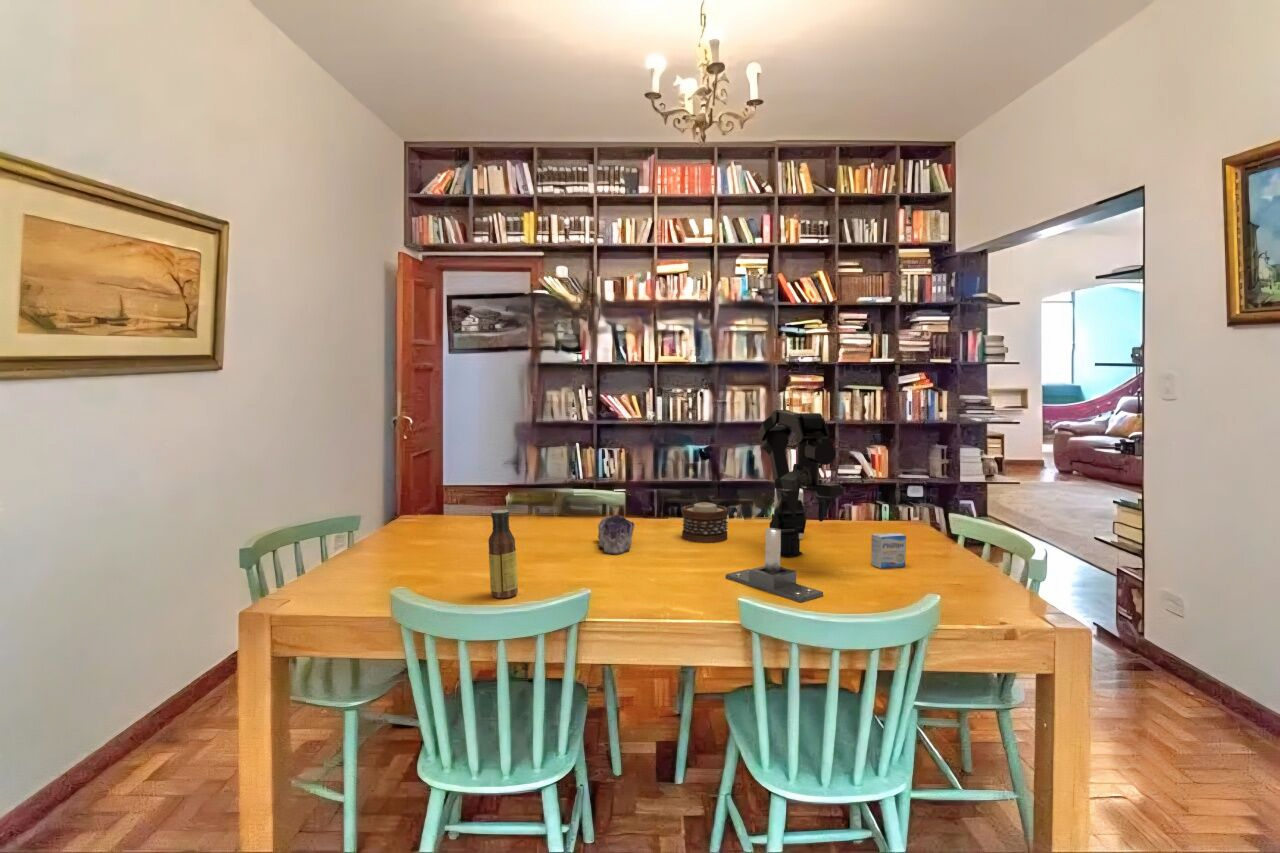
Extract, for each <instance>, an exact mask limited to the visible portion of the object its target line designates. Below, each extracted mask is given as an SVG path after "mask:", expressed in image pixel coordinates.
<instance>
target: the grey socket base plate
mask: <svg viewBox="0 0 1280 853" xmlns="http://www.w3.org/2000/svg"><path fill="white" fill-rule="evenodd" d="M725 579H726V580H730V581H733V582H737V583H739V584H742V585H744V586H749V587H751V588H755V589H758V590H759V591H760V590H761V591H764V592H766V591H767V592H766V593H769V594H773V595H776V596H779V597H783V598H785V599H788V600H791V601H794V602H798V603H804V602H808V601H810V600H814V599H818V598H821V597H824V591H821V590H819V589H815V588H812V587H808V586H806V585H802V584H800V583H797V570H794V569H793V570H792V569H789V568H786V567H783V566H780V573H778V574H774V575H773V574H770V573H767V572H765V565H762V566H759V567H754V568H750V569H749V568H746V569H743V570H738V571H734V572H730V573H729V572H728V573H725Z"/></svg>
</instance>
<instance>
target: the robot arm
mask: <svg viewBox="0 0 1280 853" xmlns="http://www.w3.org/2000/svg"><path fill="white" fill-rule="evenodd" d="M792 432H794V433H795V434H796V436H797V437H796V438H795V440H794V441H795V442H796V443H797V444H796V445H797V446H796V448H797V449H796V451H797V452H796V453H797V454H796V463H793V466H792V470H791V471H790V467H789V464H788V458H787V454H786V453H787V452H786V450H787V447H788V445H789V443H790V437H791V434H792ZM758 440H759V441H760V444H761V447H762V449H763V451H764V452H766V454H767V455H768V456H769V460H770V467H771V471H772V472H771V473H772V477H773V482H774V483H773V484H774V489H775V488H776V494H777V499H778V502H777V505H776V507H775V509H774V508H773V516H772V519H771V521H770V522H769V528H777V529H780V530H781V551H780V557H781V556H782V557H785V558H790V557H794V556H799V555H803V552H802V551H801V550H800V549H801V546H800V545H801V543H800V542H801V539H799V533H802V535H803V534H805V529H806V524H807V516H806V512H805V509H804V502H803V503H802V501H801V500H798V497H799V490H800V489H803V490H807V491H813V492H816V494H817V496H815V498H816V499H817V501H818V521H819V522H823V521H824V520H825V517H826V516H827V513H828V511H829V510H830V507H831V506H832V504H833V502H835V500H836V499H838V498H839V496H843V494H844V492H843V491H844V488H843V486H842V485H841V483H832V482H828V483H825V482H824V483H823V479H821V478H819V477H820V469H823V466H827V465H830V464H832V463H833V462H834V461H835V459H836V456H837V454H836V453H837V451H836V448H835V447H834V445H832V444H831V443H829V442H830V441H829V440H830V431H829V428H828V426H827V424H826V421H825V418H824V417H823V415H822V413H820V412H814V413H813V412H812V413H811V412H803V413H801V412H794V411H791V410H788V409H775V410H773V411H772V413H771V415H770V416H769V417H768V418H766V419H765V420H764V421H763V422H762V423H761V426H760V428H759V429H758Z"/></svg>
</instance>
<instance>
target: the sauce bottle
mask: <svg viewBox="0 0 1280 853" xmlns="http://www.w3.org/2000/svg"><path fill="white" fill-rule="evenodd" d="M490 516H491V519H492V532H491V533H490V535H489V538H488V541H487V542H488V563H489V564H488V565H489V584H490V585H489V586H490V593H491V596H492V597H494V598H496V599H508V598H513V597H516V596H517V595H518V592H519V591H518V590H519V588H518V586H519V583H518V580H519V579H518V569H517V568H518V566H517V565H518V564H517V548H516V540H515V536H514V535H513V533H512V531H511V529H510V521H509V520H510V510H509V509H494V510H492V511H491V515H490Z"/></svg>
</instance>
